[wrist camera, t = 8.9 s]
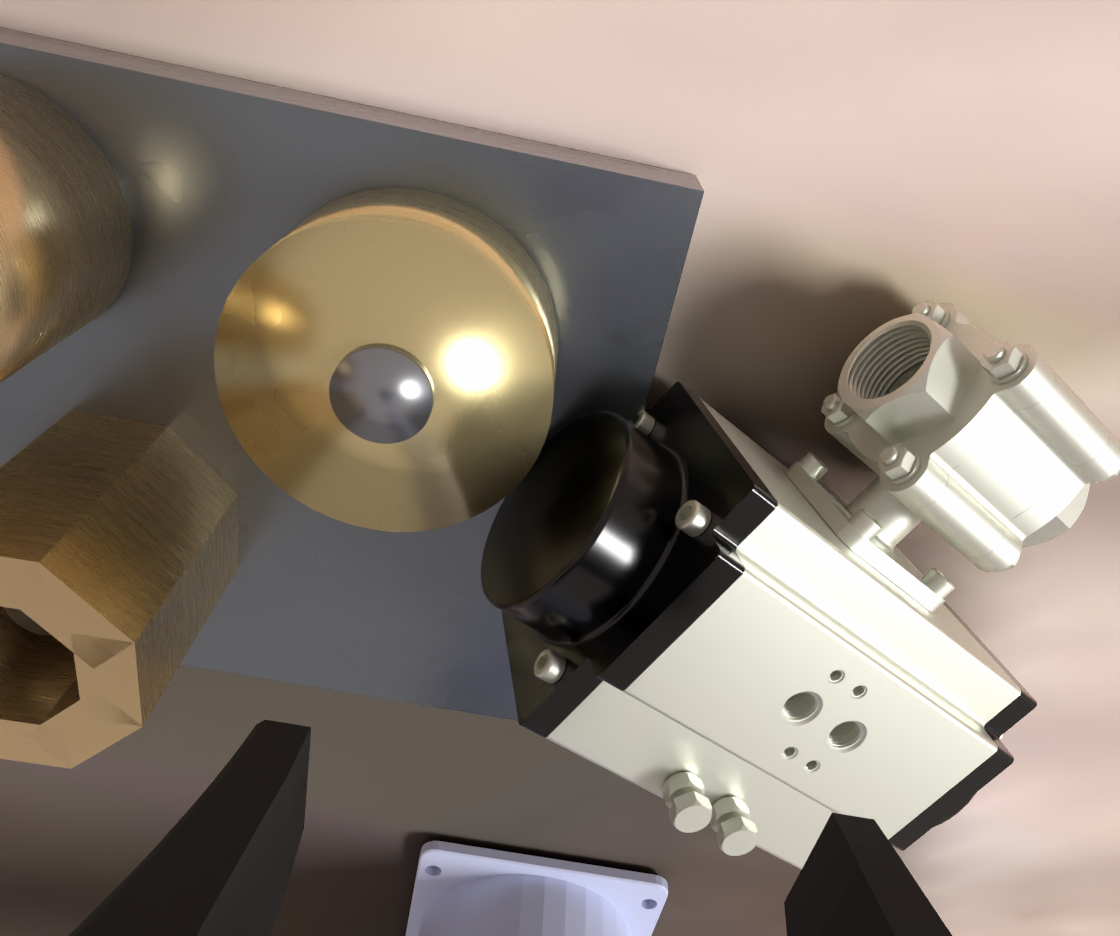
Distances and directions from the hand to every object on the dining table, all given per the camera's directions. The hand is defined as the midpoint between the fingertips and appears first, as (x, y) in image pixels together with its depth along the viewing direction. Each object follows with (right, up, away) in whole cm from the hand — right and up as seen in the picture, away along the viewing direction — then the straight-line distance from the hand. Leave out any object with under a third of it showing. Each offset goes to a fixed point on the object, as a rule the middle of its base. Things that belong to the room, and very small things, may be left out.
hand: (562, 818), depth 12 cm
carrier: (-7, +6, +8) cm, 12 cm away
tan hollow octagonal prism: (-10, +4, +8) cm, 13 cm away
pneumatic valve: (+9, +7, +4) cm, 12 cm away
